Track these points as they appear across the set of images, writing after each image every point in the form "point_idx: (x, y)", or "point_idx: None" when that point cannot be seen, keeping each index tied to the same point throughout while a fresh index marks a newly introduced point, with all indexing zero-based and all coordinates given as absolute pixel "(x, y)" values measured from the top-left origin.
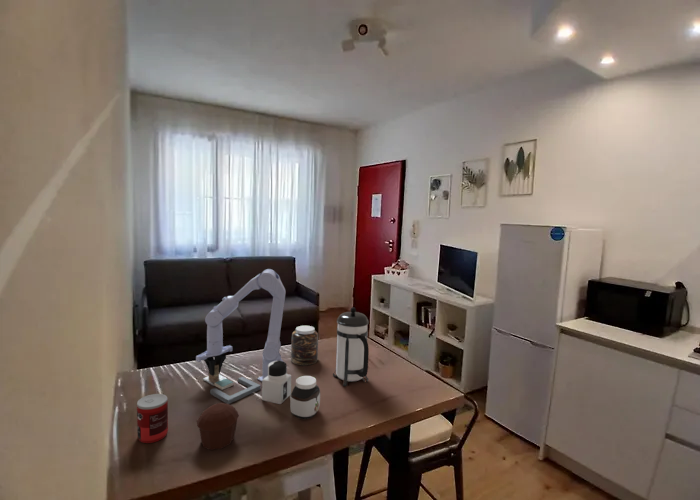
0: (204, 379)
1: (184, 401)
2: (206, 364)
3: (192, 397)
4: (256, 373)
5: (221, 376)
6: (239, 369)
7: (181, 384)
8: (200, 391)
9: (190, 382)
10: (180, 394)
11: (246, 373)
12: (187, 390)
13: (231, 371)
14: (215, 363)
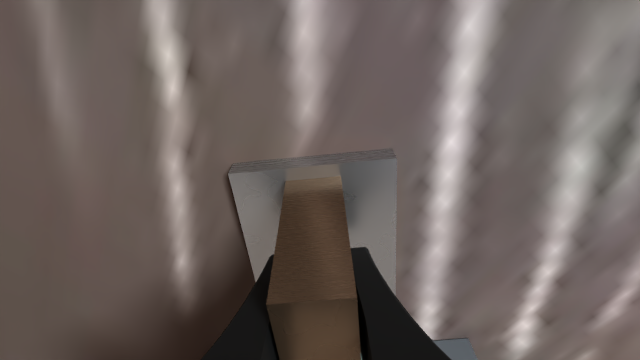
0: (234, 191)
1: (33, 346)
2: (205, 354)
3: (89, 336)
4: (615, 319)
5: (382, 247)
6: (620, 182)
7: (9, 104)
8: (156, 305)
9: (106, 124)
10: (4, 263)
11: (576, 279)
12: (63, 242)
13: (540, 171)
14: (347, 358)
